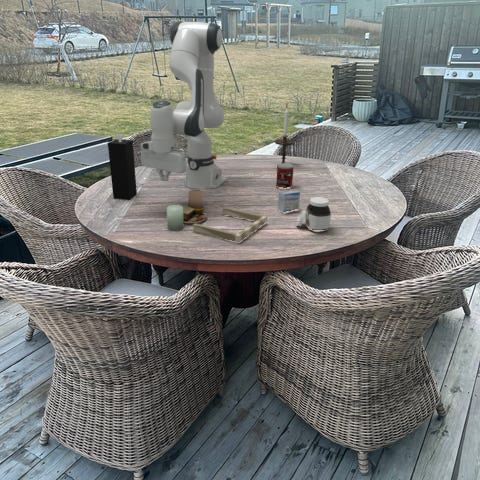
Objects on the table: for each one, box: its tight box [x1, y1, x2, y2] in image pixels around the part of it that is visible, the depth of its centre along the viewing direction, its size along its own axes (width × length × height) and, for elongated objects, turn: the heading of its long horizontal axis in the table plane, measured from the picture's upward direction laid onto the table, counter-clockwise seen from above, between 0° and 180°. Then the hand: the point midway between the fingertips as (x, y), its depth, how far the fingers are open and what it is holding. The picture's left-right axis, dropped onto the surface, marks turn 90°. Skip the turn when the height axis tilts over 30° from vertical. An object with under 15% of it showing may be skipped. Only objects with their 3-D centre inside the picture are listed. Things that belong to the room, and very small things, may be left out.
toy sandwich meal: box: [179, 204, 208, 225], centre depth 176 cm, size 12×14×5 cm
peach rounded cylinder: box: [188, 189, 204, 209], centre depth 187 cm, size 6×6×7 cm
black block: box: [107, 133, 138, 201], centre depth 193 cm, size 8×8×28 cm
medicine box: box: [277, 189, 301, 212], centre depth 185 cm, size 8×4×9 cm, turn 117°
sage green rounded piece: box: [166, 204, 185, 232], centre depth 167 cm, size 6×6×8 cm
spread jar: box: [296, 196, 332, 231], centre depth 168 cm, size 12×11×12 cm
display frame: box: [192, 206, 268, 242], centre depth 169 cm, size 22×20×3 cm
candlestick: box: [274, 103, 296, 163], centre depth 243 cm, size 11×11×35 cm
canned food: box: [275, 162, 294, 188], centre depth 214 cm, size 8×8×11 cm
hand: (164, 180), depth 177 cm, fingers closed
